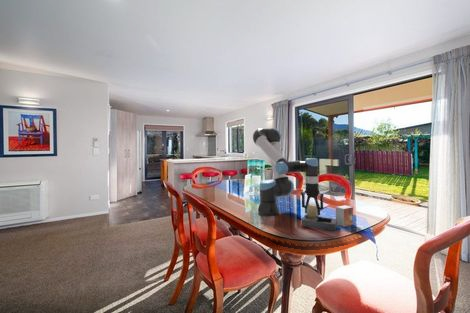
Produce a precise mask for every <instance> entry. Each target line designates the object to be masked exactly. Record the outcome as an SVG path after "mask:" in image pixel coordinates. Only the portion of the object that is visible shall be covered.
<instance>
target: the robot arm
mask: <svg viewBox="0 0 470 313" xmlns="http://www.w3.org/2000/svg"><path fill="white" fill-rule="evenodd" d="M252 139H253V143H254V144H255V145H256V147H259V148H260V149H261V150H262V151H263V153H264V154H265V155H266V156H267V157H268V158H269V159H270V161H269V162H270V165H271V167H272V168H271V169H272V173H273V179H264V180H261V181H260V183H259V205H258V209H257V214H258V213H259V214H258V215H260V216H265V217H274V216H278V215H279V214H280V208H279V206H278V203H277V198H280V197H287V196H291V194H292V193H293V192H294V189H295V186H294V182H293V181H292V179H289V176H288V175H286V174H293V173H305V190H304V191H303V190H302V191H301V192H300V195H301V208H303V209H304V215H308V213H307V205H308V204H310V199H311V198H313V199H314V202H315V203H314V204H316V206H317V210H316V216H318V217H319V216H320V215H321V211H323V209H324V195H325V193H324V192H320V190H319V160H318V158H316V157H306V158H305V160H292V161H288V160H287V159H286V158H285V157H284V156H283V155H282V154H281V151H280V148H279V146H280V144H281V139H282V134H281V131H280V130H279V129H277V128H265V127H264V128H263V127H262V128H261V127H260V128H257V129H255V131H254V132H253V134H252ZM305 195H307V198H306V197H305ZM318 196H319V199H320V203H319V200H318ZM305 200H306V201H305Z"/></svg>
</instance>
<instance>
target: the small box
mask: <svg viewBox="0 0 470 313" xmlns="http://www.w3.org/2000/svg"><path fill="white" fill-rule="evenodd" d="M335 219H337V226H340V227H344V228H345V227H349V226H353V225H354V207H353V206H350V205H349V206H348V205H346V204H344V205H339V206H335Z"/></svg>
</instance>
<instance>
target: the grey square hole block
mask: <svg viewBox="0 0 470 313" xmlns="http://www.w3.org/2000/svg"><path fill="white" fill-rule="evenodd" d="M300 222H301V224H300V225H301V227H304V228H309V229H316V230H323V231H328V232H335V233H336V230H337V228H338V225H337V219H336V218H331V217H324V216H319V215H318V216H311V215H307V214H304V215H303V217H302V218H301V221H300Z"/></svg>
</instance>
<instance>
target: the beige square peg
mask: <svg viewBox="0 0 470 313" xmlns="http://www.w3.org/2000/svg"><path fill="white" fill-rule="evenodd" d="M316 210H317V206H316V203H309V204H308V205H307V213H308V215H311V216H316Z"/></svg>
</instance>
